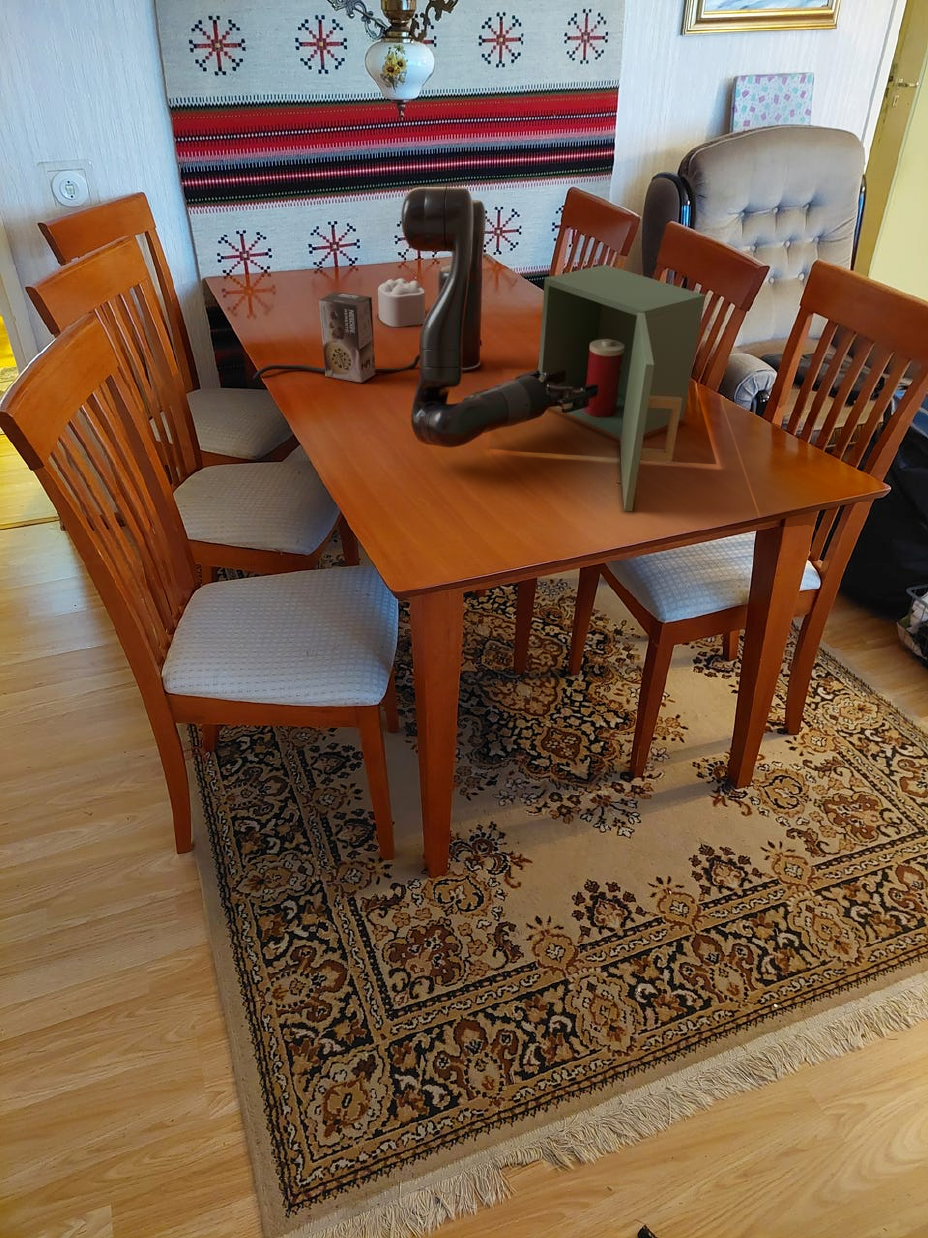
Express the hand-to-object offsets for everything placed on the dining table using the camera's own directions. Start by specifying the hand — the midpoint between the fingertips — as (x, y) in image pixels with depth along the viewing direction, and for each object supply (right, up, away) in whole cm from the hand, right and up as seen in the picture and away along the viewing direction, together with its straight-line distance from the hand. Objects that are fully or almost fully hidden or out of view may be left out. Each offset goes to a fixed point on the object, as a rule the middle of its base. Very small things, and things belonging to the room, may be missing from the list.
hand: (580, 382), depth 164 cm
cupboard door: (+9, -20, -13) cm, 25 cm away
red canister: (+5, -4, +7) cm, 10 cm away
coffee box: (-46, +8, +23) cm, 52 cm away
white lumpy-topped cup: (-37, +31, +55) cm, 73 cm away
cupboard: (+7, -4, +9) cm, 12 cm away
